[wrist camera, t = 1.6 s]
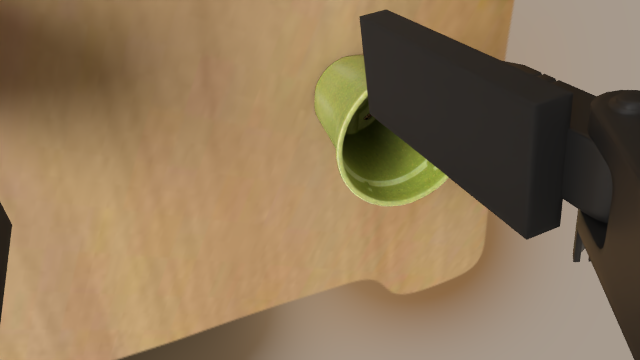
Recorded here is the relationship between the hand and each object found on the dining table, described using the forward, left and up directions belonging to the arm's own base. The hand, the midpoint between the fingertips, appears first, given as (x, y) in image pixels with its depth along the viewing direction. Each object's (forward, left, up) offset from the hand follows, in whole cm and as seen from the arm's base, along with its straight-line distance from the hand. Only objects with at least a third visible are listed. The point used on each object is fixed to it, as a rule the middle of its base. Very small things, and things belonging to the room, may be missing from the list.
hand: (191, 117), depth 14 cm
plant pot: (+18, -2, -24) cm, 30 cm away
